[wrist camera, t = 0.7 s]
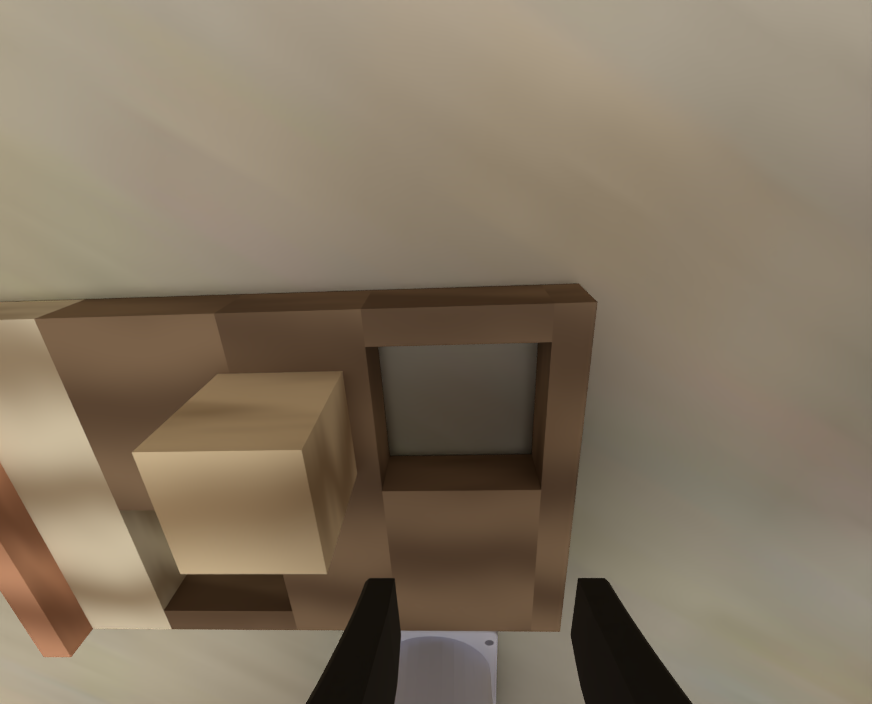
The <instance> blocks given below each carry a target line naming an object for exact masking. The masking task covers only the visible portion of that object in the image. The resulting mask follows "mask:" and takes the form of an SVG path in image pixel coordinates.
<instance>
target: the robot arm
mask: <svg viewBox="0 0 872 704" xmlns="http://www.w3.org/2000/svg"><path fill="white" fill-rule="evenodd" d="M571 639H572V645H573V650H574V655H575V661H576V666H577V671H578V676H579V681H580V686H581V690H582V693H583V697H584V700H585V704H692V702H691V701H690V700H689V698H688V697H687V696H686V694H685V693H684V692H683V690H682V689H681V688H680V686H679V685H678V684H677V682H676V681H675V679H674V678H673V677H672V675H671V674H670V673H669V671H668V670H667V668H666V667H665V666H664V664H663V663H662V662H661V660H660V659H659V657H658V656H657V655H656V653H655V652H654V650H653V649H652V648H651V646H650V645H649V643H648V642H647V640H646V639H645V637H644V636H643V634H642V633H641V631H640V630H639V628H638V627H637V626H636V624H635V623H634V621H633V619H632V618H631V616H630V615H629V613H628V612H627V610H626V609H625V607H624V606H623V604H622V603H621V601H620V599H619V598H618V596H617V595H616V593H615V591H614V590H613V588H612V586H611V585H610V583H609V582H608V581H607V580H606V579H605V578H578V583H577V590H576V598H575V606H574V613H573V621H572V629H571ZM497 644H498V635H497V631H401V628H400V620H399V611H398V602H397V594H396V585H395V578H369V579H368V580H367V581H365V584H364V587H363V589H362V592H361V594H360V597H359V599H358V602H357V604H356V606H355V609H354V611H353V613H352V615H351V618H350V620H349V622H348V624H347V626H346V628H345V630H344V632H343V634H342V637H341V639H340V641H339V643H338V645H337V647H336V649H335V650H334V652H333V654H332V656H331V658H330V660H329V662H328V664H327V666H326V668H325V670H324V672H323V674H322V676H321V677H320V679H319V681H318V683H317V685H316V687H315V688H314V690H313V692H312V694H311V695H310V697H309V699H308V701H307V702H306V704H496V685H497Z"/></svg>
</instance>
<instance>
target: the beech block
mask: <svg viewBox="0 0 872 704" xmlns="http://www.w3.org/2000/svg"><path fill="white" fill-rule="evenodd" d="M132 455H133V457H134V460H135V462H136V465H137V467H138V470H139V472H140V475H141V477H142V480H143V482H144V484H145V487H146V489H147V492H148V494H149V497H150V499H151V502H152V504H153V507H154V509H155V512H156V514H157V517H158V519H159V522H160V524H161V527H162V529H163V532H164V534H165V537H166V539H167V542H168V544H169V547H170V549H171V552H172V554H173V557H174V559H175V562H176V564H177V567H178V569H179V572H180V574H327V573H328V569H329V566H330V563H331V559H332V556H333V553H334V549H335V546H336V543H337V539H338V536H339V533H340V529H341V526H342V523H343V520H344V516H345V513H346V510H347V506H348V503H349V500H350V496H351V493H352V490H353V486H354V483H355V480H356V476H357V468H356V461H355V454H354V447H353V440H352V434H351V427H350V420H349V413H348V406H347V399H346V392H345V385H344V379H343V372H342V371H328V372H284V373H240V374H217V375H216V376H215V377H214V378H212V379H211V380H210V381H209V382H208V383H207V384H206V385H205V386H204V387H203V388H202V389H200V390H199V391H198V392H197V393H196V394H195V395H194V396H193V397H192V398H191V399H189V400H188V401H187V402H186V403H185V404H184V405H183V406H182V407H181V408H180V409H179V410H177V411H176V412H175V413H174V414H173V415H172V416H171V417H170V418H169V419H168V420H166V421H165V422H164V423H163V424H162V425H161V426H160V427H159V428H158V429H157V430H156V431H154V432H153V433H152V434H151V435H150V436H149V437H148V438H147V439H146V440H145V441H144V442H142V443H141V444H140V445H139V446H138V447H137V448H136V449H135V450H134V451H133V452H132Z"/></svg>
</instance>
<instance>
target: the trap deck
mask: <svg viewBox="0 0 872 704" xmlns="http://www.w3.org/2000/svg"><path fill="white" fill-rule="evenodd" d="M596 310H597V301H596V300H595V299H594V298H593V297H592V296H591V295H590V294H589V293H588V292H586V291H585V290H584V289H583V288H582V287H581V286H580V285H579V284H554V285H523V286H491V287H460V288H428V289H397V290H366V291H334V292H303V293H271V294H240V295H208V296H177V297H146V298H114V299H83V300H51V301H20V302H0V591H1V593H2V594H3V596H4V597H5V599H6V600H7V602H8V603H9V605H10V606H11V608H12V609H13V611H14V612H15V614H16V615H17V617H18V619H19V620H20V622H21V623H22V625H23V626H24V628H25V629H26V631H27V632H28V634H29V635H30V637H31V638H32V640H33V641H34V643H35V644H36V646H37V648H38V649H39V651H40V652H41V654H42V655H43V657H72V655H73V654H74V653H75V651H76V650H77V649H78V647H79V646H80V645H81V644H82V642H83V641H84V640H85V638H86V637H87V636H88V634H89V633H90V632H91V631H92V629H231V630H345V628H346V626H347V624H348V622H349V620H350V618H351V615H352V613H353V611H354V609H355V606H356V604H357V602H358V599H359V597H360V594H361V592H362V589H363V587H364V584H365V581H367V580H368V579H369V578H395V585H396V594H397V602H398V611H399V620H400V628H401V631H540V632H560V626H561V617H562V608H563V599H564V591H565V582H566V573H567V564H568V555H569V547H570V538H571V529H572V520H573V512H574V503H575V494H576V485H577V477H578V468H579V459H580V450H581V441H582V433H583V424H584V415H585V406H586V398H587V389H588V380H589V371H590V363H591V354H592V345H593V336H594V327H595V319H596ZM500 343H538V353H537V370H536V387H535V404H534V421H533V438H532V454H517V455H440V456H390V455H389V446H388V436H387V427H386V417H385V408H384V398H383V388H382V379H381V369H380V360H379V350H378V347H383V346H422V345H461V344H500ZM328 371H342V372H343V379H344V385H345V392H346V399H347V406H348V413H349V420H350V427H351V434H352V440H353V447H354V454H355V461H356V468H357V476H356V480H355V483H354V486H353V490H352V493H351V496H350V500H349V503H348V506H347V510H346V513H345V516H344V520H343V523H342V526H341V529H340V533H339V536H338V539H337V543H336V546H335V549H334V553H333V556H332V559H331V563H330V566H329V569H328V573H327V574H180V572H179V569H178V567H177V564H176V562H175V559H174V557H173V554H172V552H171V549H170V547H169V544H168V542H167V539H166V537H165V534H164V532H163V529H162V527H161V524H160V522H159V519H158V517H157V514H156V512H155V509H154V507H153V504H152V502H151V499H150V497H149V494H148V492H147V489H146V487H145V484H144V482H143V480H142V477H141V475H140V472H139V470H138V467H137V465H136V462H135V460H134V457H133V455H132V452H133V451H134V450H135V449H136V448H137V447H138V446H139V445H140V444H141V443H142V442H144V441H145V440H146V439H147V438H148V437H149V436H150V435H151V434H152V433H153V432H154V431H156V430H157V429H158V428H159V427H160V426H161V425H162V424H163V423H164V422H165V421H166V420H168V419H169V418H170V417H171V416H172V415H173V414H174V413H175V412H176V411H177V410H179V409H180V408H181V407H182V406H183V405H184V404H185V403H186V402H187V401H188V400H189V399H191V398H192V397H193V396H194V395H195V394H196V393H197V392H198V391H199V390H200V389H202V388H203V387H204V386H205V385H206V384H207V383H208V382H209V381H210V380H211V379H212V378H214V377H215V376H216V375H217V374H240V373H284V372H328Z"/></svg>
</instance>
